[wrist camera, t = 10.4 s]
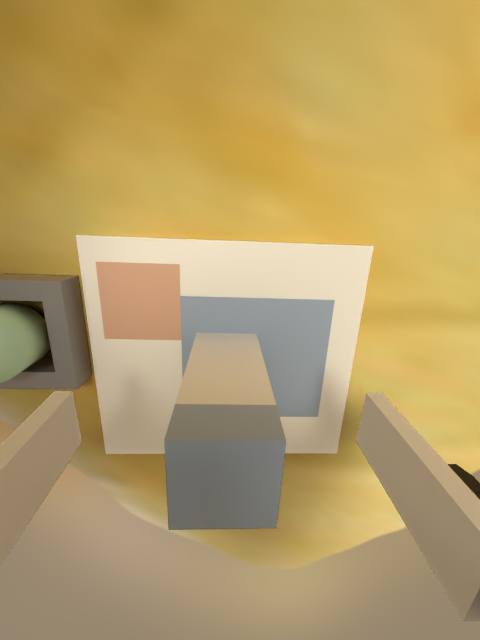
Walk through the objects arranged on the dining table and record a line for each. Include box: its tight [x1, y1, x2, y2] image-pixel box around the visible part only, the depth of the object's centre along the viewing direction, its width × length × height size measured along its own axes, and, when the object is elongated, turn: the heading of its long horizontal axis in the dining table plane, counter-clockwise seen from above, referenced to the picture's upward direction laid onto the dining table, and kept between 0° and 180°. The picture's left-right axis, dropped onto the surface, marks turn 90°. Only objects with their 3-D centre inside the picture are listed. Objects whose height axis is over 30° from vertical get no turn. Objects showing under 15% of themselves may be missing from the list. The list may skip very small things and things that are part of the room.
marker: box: [164, 332, 286, 530], centre depth 15 cm, size 4×4×10 cm
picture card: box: [76, 235, 374, 454], centre depth 20 cm, size 16×18×1 cm
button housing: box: [0, 273, 92, 389], centre depth 18 cm, size 7×7×2 cm
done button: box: [0, 302, 50, 383], centre depth 16 cm, size 4×4×3 cm
